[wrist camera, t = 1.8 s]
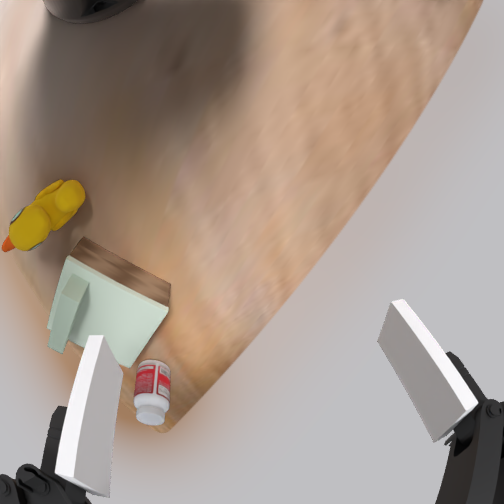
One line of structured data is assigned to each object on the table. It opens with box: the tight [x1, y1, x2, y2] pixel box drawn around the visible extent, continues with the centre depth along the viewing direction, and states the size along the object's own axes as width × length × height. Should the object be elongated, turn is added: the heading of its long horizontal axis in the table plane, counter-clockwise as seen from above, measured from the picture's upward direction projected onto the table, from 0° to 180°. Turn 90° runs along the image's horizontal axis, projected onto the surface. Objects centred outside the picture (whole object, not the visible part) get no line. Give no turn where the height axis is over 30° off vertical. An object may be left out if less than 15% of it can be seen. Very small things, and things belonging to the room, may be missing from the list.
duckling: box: [2, 180, 85, 252], centre depth 26 cm, size 11×5×10 cm, turn 110°
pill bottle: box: [134, 360, 170, 425], centre depth 43 cm, size 6×6×11 cm
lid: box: [47, 255, 169, 368], centre depth 32 cm, size 14×14×5 cm
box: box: [70, 237, 171, 307], centre depth 36 cm, size 14×14×5 cm
